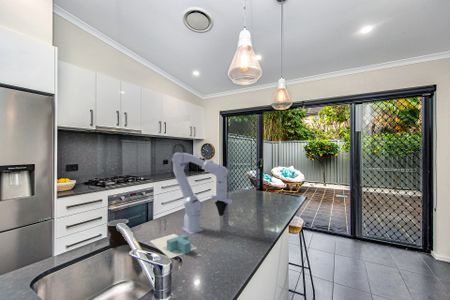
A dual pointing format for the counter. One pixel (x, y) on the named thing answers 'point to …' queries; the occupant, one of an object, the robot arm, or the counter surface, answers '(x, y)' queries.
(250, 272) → the counter surface
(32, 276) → the counter surface
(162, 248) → the mat
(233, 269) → the counter surface
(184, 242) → the tee block
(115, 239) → the coffee mug
